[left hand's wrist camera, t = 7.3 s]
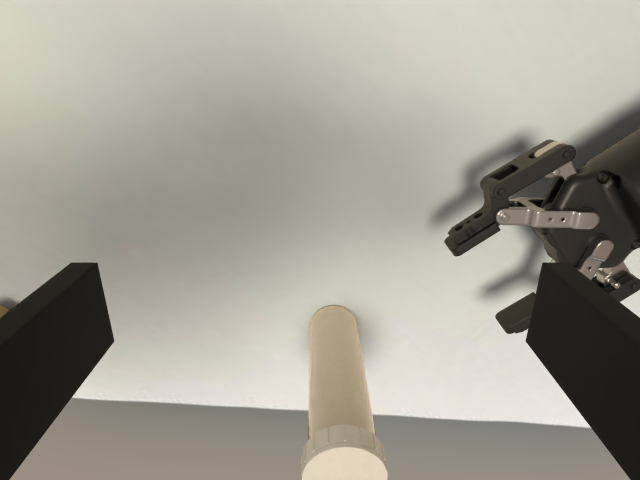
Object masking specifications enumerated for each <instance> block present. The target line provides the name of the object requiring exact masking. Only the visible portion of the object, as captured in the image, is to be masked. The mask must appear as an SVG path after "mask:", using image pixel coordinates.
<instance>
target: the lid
mask: <svg viewBox="0 0 640 480" xmlns="http://www.w3.org/2000/svg"><path fill="white" fill-rule="evenodd" d="M387 472H388V469H387V463H386V458H385V454H384V449H383V444H382V443H381V442H380V441H379V439H378V438H377V437H376V436H375V435H374V433H371V432H370V431H368V430H366V429H364V428H362V427H360V426H359V427H358V426H354V425H344V424H343V425H335V426H330V427H326V428H324V429H322V430H320V431H318V432H317V433H315V434H313V436H312V437H311V438H310V439H309V440H308V441H307V443H306V445H304V450H303V456H302V457H301V474H302V480H387V479H388V474H387Z"/></svg>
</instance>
